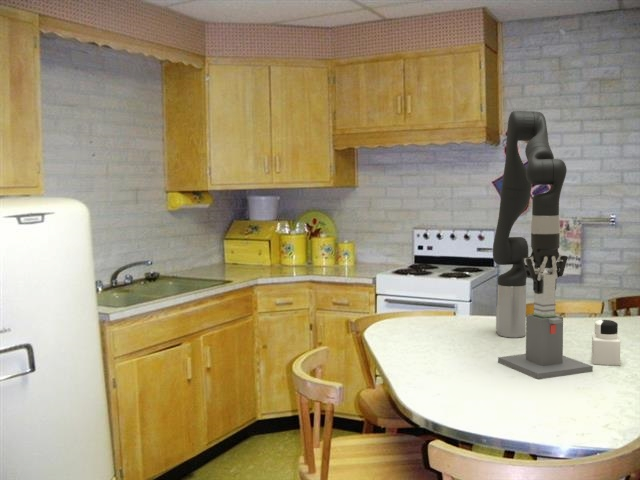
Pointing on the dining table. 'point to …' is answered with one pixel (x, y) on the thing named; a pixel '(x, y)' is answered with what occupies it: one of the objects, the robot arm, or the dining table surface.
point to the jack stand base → (544, 351)
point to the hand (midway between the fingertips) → (544, 292)
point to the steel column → (545, 297)
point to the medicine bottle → (606, 343)
